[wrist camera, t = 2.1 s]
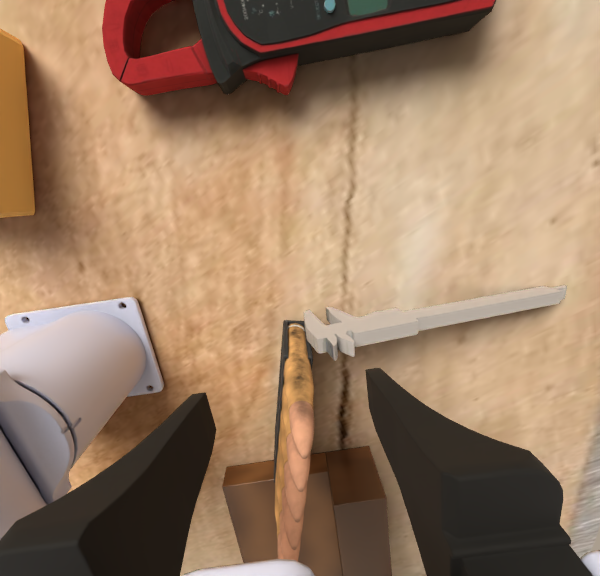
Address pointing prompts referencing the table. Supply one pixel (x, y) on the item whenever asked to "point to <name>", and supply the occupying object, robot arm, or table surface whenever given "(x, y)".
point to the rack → (317, 514)
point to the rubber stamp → (14, 132)
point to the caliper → (417, 319)
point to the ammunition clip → (293, 437)
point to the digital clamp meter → (272, 37)
